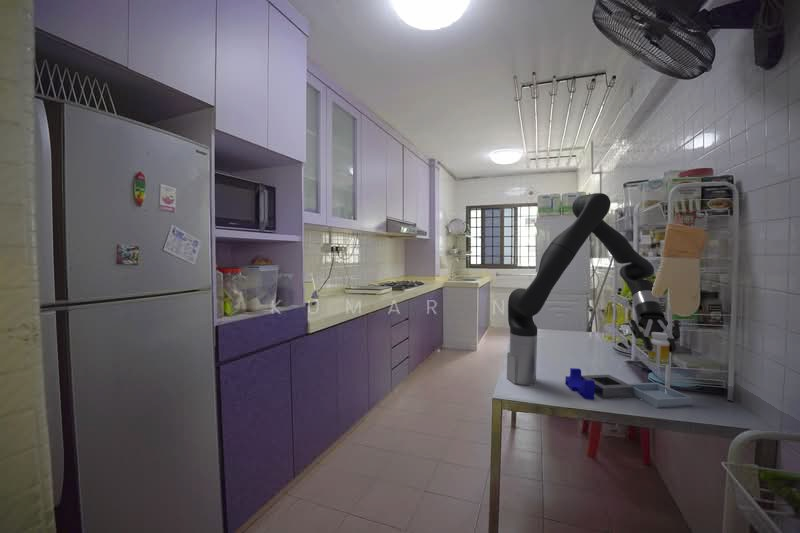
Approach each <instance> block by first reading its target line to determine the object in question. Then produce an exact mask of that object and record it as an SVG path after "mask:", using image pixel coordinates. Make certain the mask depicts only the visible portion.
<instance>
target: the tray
mask: <svg viewBox="0 0 800 533" xmlns="http://www.w3.org/2000/svg"><path fill="white" fill-rule="evenodd" d="M628 384H629V385H631V386H633V387H634V397H635V398H637V399H638V398H639V399H638V400H640V399H642V400H643V401H642V400H641V401H642V402H644V401H645V403H646V402H647V403H646V404H648V403H649V404H648V405H650V404H651V405H650V406H652V405H653V406H652V407H654V406H655V407H654V408H656V409H662V408H663V407H664V408H665V407H667V408H681V407H682V406H684V407H692V406H693V397H691V396H689V395H687V394H685V393H682V392H679V391H678V390H675V389H673V388H671V387H669V386H666V387H665V385H664V384H661V383H659V382H644V383H643V382H642V383H628ZM665 389H666V391H667V394H665V393H664V392H665ZM664 408H663V409H664Z"/></svg>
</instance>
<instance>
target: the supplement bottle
mask: <svg viewBox="0 0 800 533" xmlns="http://www.w3.org/2000/svg"><path fill="white" fill-rule="evenodd" d="M650 335H651V338H650V341H651V344H652V350H651V351H648V350H647V362H648V363H649V364H652V365H655V366H663V367H664V366H666V367H667V366H669V364H670V343H669V342H668V341H667V340H666V339H667V334H666V333H661V332H652V333H651V334H650Z"/></svg>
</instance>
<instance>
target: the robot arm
mask: <svg viewBox="0 0 800 533" xmlns="http://www.w3.org/2000/svg"><path fill="white" fill-rule="evenodd" d="M610 208H611V199H610V197H609V196H608V195H607V194H605V193H604V192H603V193H602V192H598V193H597V192H595V193H589V194H585V195H581V196H580V195H579V196H578V197H577V198H575V199H574V201H573V202H572V207H571V209H572V213H573V215H574V216H575V217H576V220H575V221H573V223H572V224H570V226H568V227H567V228H566V229H564V230H563V231H562V232H561V233H559V234H558V235H557V236H555V238H554V239H553V240H551V242H550V244H549V245H548V246H547V248H546V249H545V250H544V252H543V254H542V256H541V259H540V261H539V265H538V266H539V267H538V271H537V273H536V275H535V277H534V279H533V280H532V282H531V283H530V284H529V286H528V287H527V288H516V289H514V290H512V292H511V293H509V297H508V301H507V321H508V326H509V335H510V336H509V352H507V355H506V378H507V379H508V380H509V381H510V382H511V383H513V384H514V385H523V386H530V385H531V386H532V385H534V384H536V383H537V363H538V362H537V356H538V354H537V353H538V327H537V325H536V323H535V322H534V318H533V317H535V316H536V315H537V314H539V313H540V311H541V310H542V308H543V307H544V305H545V303H546V301H547V299H548V298H549V296H550V294H551V291H552V290H553V289H554V288H555V285H556V284H557V283H558V282H559V280H560V278H561V277H562V276H563V274H564V272H565V271H566V269H567V268H568V266H569V265H570V264H571V262H573V260H574V258H575V257H576V255H577V254H578V252H579V251H580V249H582V247H583V245H584V243H586V241H587V239H588V237H590V235H591V234H593V235H594V236H595V237H596V238H597V239H598V240H599V242H601V243H602V245H603V246H604V248H606V249H607V251H608V252H609V254H610V255H611V257H612V258H613V259H614V261H615V262H616V263H617V264H619V265H620V264H621V265H623V264H625V265H623V266H621V267H620V268H619V275H620V277H621V279H622V280H623V281H624V283H625V284H626V285H627V287H628V288H629V290H630V295H631V297H632V305H633V308H634V311H635V314H636V318H637V320H634V319H630V320H629V323H628V327H629V329H630V331H631V332H632V334H633V336H634V338H635V339H640V340H642V342H643V346H644V348H645V349H646V350H647V352H648V351H651V350H652V344H651V341H650V339H651V338H650V337H649V335H650V334H652V332H661V333H666V334H667V336H668V337H667V339H666V340H667V341H668V342H669V343H670V351H669V353H670V354H671V353H672V354H673V353H674V352H675V351H676V350H677V345H676V342H678V340H679V339H680V337H681V332H680V324H679V322H677V321H675V322H671V323H672V330H669V328H668V326H667V325H668V322H669V321H668V319H666V317H665V316H666V315H665V313H664V310H663V308H662V305H661V301H660V299H659V297H658V296H657V297H653V296H652V293H651V291H652V287H654V284H653V283H652V281H650V280H648V279H647V278H650V277H653V276H654V273H655V268H654V265H653V264H652V263H651V262H650V261H649V260H648V259H646V258H645V257H643V256H642V255H640V253H639V252H637V251H636V250H635V249H634V247H633V246H632V244H631V243H630V242H629V240H628V239H627V238H626V237H625V236H624V235H623V234H622V233H621V232H619V231H617V229H615V228H613V227H612V226H611V225H609V224H608V223H607V222H606V221H605V220H604V219H605V217H606V216H607V215H608V213H609V211H610ZM639 326H640V327H641V328H642V329H643V332H641V330H640V328H639ZM670 331H671V332H670Z"/></svg>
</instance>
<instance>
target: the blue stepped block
mask: <svg viewBox="0 0 800 533" xmlns="http://www.w3.org/2000/svg"><path fill="white" fill-rule="evenodd" d="M569 373H570V374H569V376H568V375H567V376H566V375H565V382H564V383H565V385H566V386H567V387H568V389H569V391H571V392H577V393H578V395H580V396H581V397H582V398H583V400H595V394H594V387H595V381H593V380H588V379H583V381H582V377H581V376H582V370H581V368H575V367H571V368H569Z"/></svg>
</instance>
